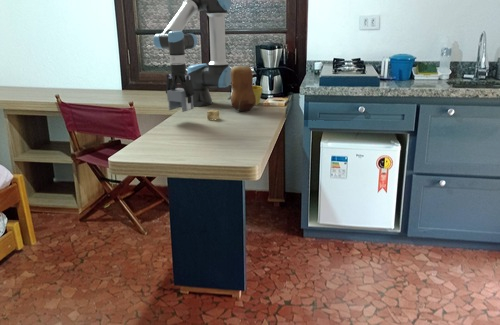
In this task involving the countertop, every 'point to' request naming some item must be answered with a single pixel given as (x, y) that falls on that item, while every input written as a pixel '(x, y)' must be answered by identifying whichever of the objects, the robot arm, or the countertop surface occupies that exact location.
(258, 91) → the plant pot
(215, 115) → the ochre block
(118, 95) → the countertop surface
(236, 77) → the butternut squash
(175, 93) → the grey mini stool
